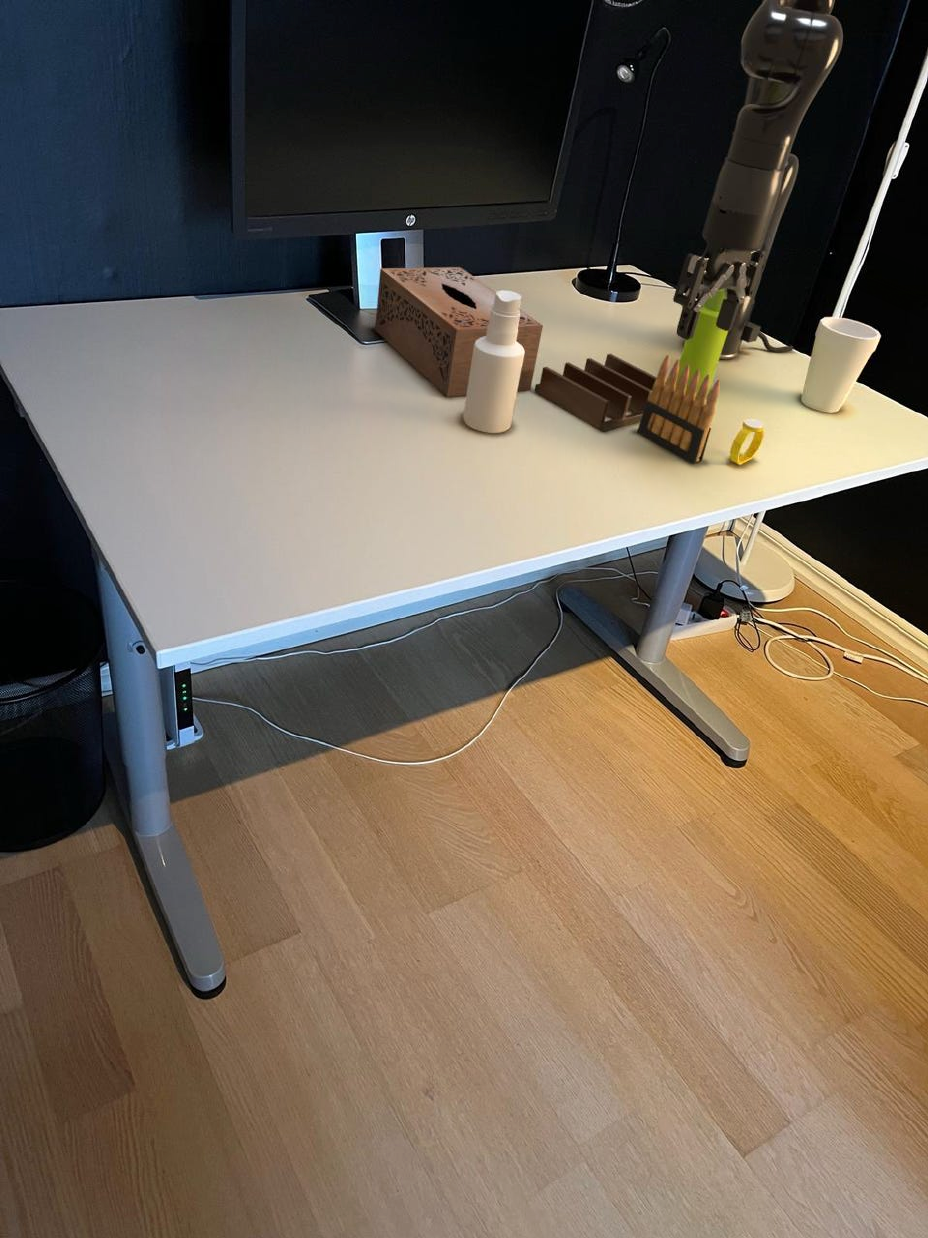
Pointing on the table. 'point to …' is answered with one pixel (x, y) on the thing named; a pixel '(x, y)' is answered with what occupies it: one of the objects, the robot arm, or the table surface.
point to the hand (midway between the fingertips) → (703, 332)
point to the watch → (747, 429)
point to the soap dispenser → (704, 343)
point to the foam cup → (837, 361)
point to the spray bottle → (496, 368)
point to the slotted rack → (599, 391)
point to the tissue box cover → (444, 323)
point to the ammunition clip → (679, 413)
